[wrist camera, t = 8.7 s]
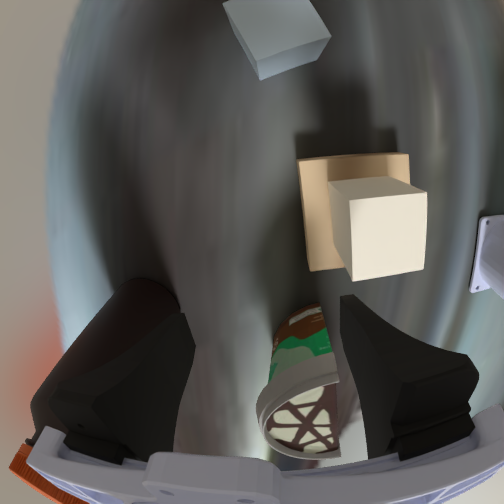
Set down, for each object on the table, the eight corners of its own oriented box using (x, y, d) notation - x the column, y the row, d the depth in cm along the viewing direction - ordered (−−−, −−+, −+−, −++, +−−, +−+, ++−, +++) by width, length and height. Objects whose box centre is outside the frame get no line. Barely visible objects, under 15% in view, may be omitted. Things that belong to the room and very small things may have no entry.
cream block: (388, 175, 18) (426, 192, 13) (390, 236, 19) (423, 269, 14) (327, 181, 18) (349, 200, 13) (333, 243, 20) (352, 281, 15)
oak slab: (394, 151, 19) (408, 154, 17) (396, 246, 22) (408, 258, 20) (295, 158, 20) (298, 161, 18) (306, 257, 23) (310, 271, 21)
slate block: (289, 13, 15) (294, -21, 10) (316, 60, 17) (331, 36, 12) (234, 33, 16) (222, 3, 11) (260, 80, 18) (256, 61, 13)
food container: (246, 300, 24) (232, 390, 15) (317, 287, 24) (338, 375, 14) (273, 390, 29) (271, 468, 20) (329, 381, 28) (341, 459, 19)
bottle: (126, 332, 27) (36, 491, 9) (111, 274, 24) (-25, 439, 6) (186, 339, 27) (118, 532, 8) (177, 278, 24) (60, 499, 6)
